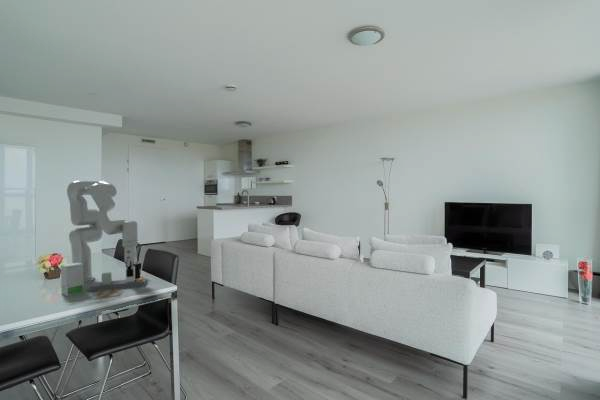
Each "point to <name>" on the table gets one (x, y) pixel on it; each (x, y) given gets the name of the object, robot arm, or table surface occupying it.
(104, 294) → the walnut board
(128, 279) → the white charger
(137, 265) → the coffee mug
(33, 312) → the table surface
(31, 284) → the table surface
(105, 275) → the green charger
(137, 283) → the power strip
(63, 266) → the skincare box
